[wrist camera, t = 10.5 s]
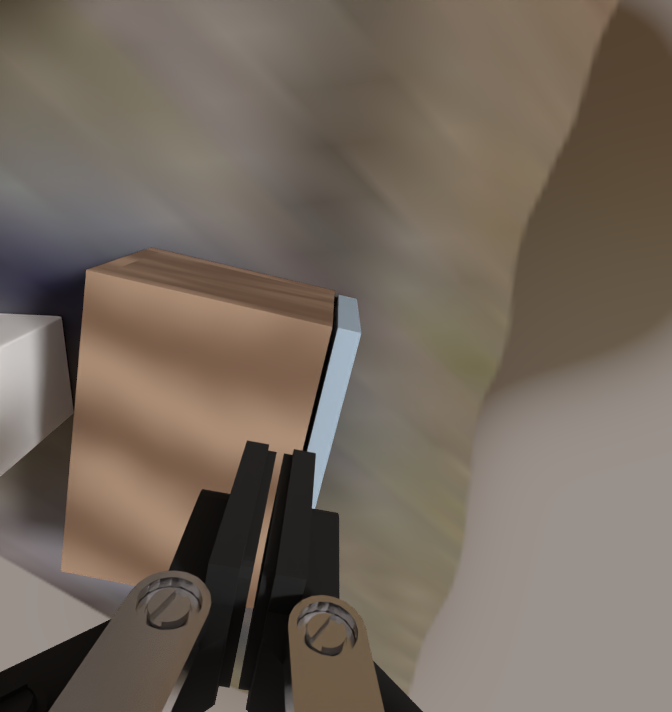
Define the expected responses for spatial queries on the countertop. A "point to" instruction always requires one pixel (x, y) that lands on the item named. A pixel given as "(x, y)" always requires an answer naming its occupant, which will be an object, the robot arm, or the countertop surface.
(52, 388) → the milk carton
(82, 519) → the walnut cabinet
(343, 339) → the cabinet door
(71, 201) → the countertop surface
